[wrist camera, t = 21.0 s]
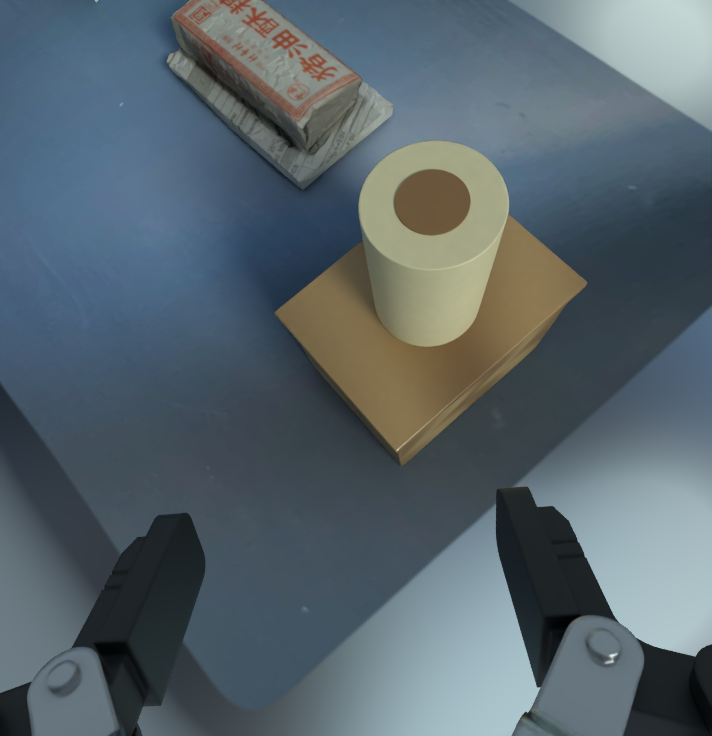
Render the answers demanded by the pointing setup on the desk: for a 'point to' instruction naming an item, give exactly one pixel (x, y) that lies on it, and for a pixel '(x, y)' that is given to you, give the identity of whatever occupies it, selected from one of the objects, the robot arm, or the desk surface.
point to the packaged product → (274, 85)
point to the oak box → (426, 364)
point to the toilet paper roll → (431, 238)
